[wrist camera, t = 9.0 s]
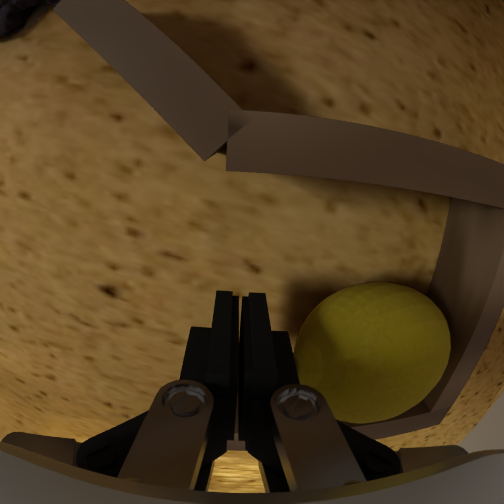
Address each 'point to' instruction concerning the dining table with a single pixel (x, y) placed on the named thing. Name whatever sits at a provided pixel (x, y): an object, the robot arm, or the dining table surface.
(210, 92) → the corral
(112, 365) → the dining table surface
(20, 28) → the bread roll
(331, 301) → the lemon
